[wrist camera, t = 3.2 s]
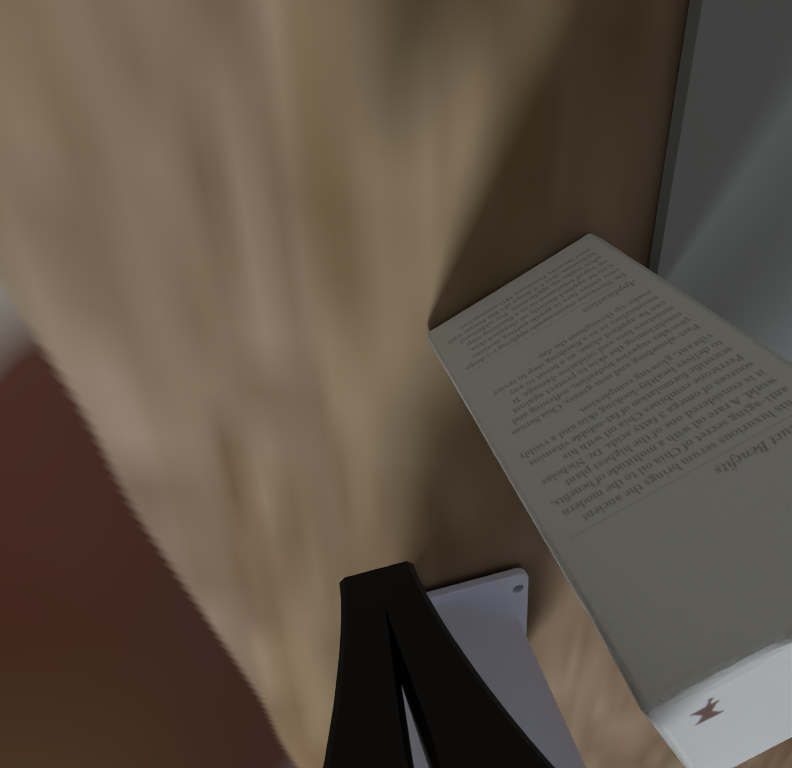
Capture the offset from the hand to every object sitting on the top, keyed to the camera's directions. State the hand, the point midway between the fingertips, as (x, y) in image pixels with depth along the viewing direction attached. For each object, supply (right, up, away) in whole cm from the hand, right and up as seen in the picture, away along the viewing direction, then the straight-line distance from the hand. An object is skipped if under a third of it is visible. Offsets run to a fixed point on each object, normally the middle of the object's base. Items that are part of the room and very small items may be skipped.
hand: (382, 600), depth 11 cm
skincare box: (+5, +6, +8) cm, 11 cm away
